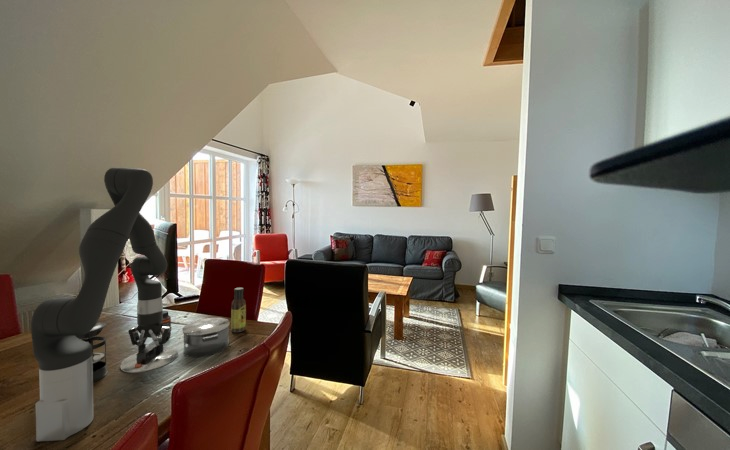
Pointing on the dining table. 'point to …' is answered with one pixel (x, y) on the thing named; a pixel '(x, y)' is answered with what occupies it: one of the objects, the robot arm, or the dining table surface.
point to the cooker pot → (206, 337)
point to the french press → (98, 365)
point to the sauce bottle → (238, 311)
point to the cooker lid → (148, 359)
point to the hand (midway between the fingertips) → (150, 354)
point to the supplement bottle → (166, 321)
